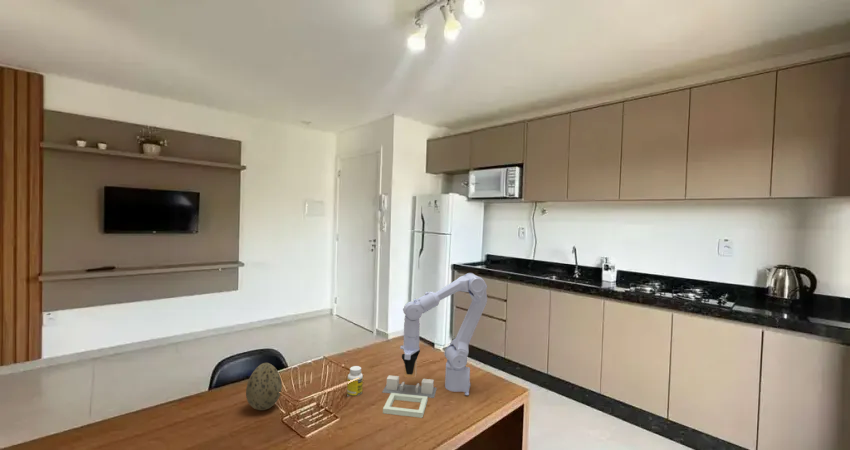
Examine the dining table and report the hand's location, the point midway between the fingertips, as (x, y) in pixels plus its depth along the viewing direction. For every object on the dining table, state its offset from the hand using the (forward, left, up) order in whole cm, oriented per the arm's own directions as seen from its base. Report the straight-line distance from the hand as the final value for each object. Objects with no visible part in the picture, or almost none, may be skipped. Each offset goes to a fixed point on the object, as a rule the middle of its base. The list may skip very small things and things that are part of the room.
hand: (410, 371), depth 136 cm
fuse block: (0, 0, -8) cm, 8 cm away
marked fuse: (0, 0, -1) cm, 1 cm away
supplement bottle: (+19, +6, -8) cm, 22 cm away
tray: (-1, +12, -8) cm, 14 cm away
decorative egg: (+45, +21, -8) cm, 50 cm away
